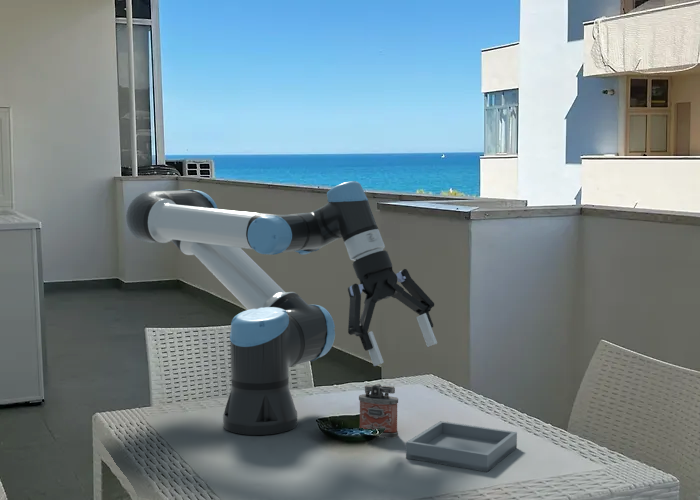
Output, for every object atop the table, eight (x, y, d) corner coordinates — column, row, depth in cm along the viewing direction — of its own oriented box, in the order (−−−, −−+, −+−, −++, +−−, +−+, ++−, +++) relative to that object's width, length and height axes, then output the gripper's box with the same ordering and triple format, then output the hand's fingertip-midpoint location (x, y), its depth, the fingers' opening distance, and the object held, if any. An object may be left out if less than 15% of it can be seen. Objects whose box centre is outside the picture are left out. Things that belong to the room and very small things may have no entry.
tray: (406, 458, 169) (406, 442, 168) (440, 435, 182) (440, 421, 182) (487, 472, 161) (487, 455, 161) (516, 447, 175) (516, 432, 175)
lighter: (356, 434, 184) (356, 384, 183) (362, 429, 187) (362, 380, 186) (394, 438, 181) (394, 388, 180) (400, 434, 184) (400, 384, 183)
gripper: (326, 264, 178) (364, 369, 175) (426, 236, 191) (463, 333, 188) (309, 275, 184) (346, 376, 181) (407, 247, 198) (443, 341, 195)
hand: (406, 354), depth 185 cm, fingers open, 13 cm apart
